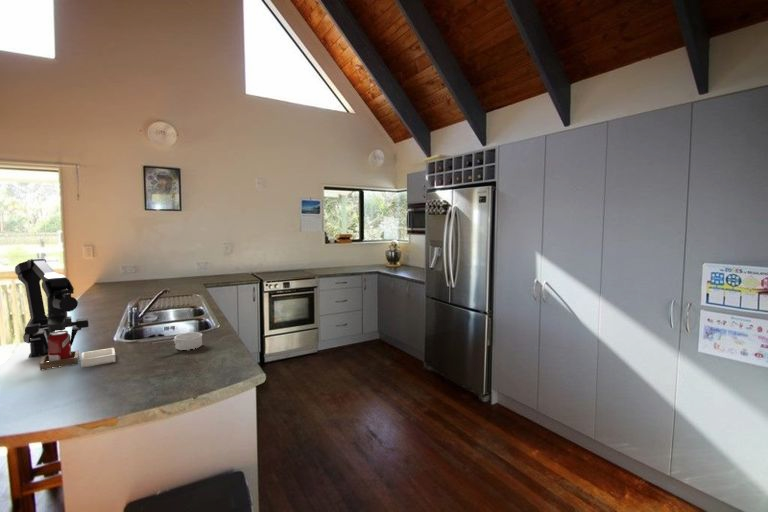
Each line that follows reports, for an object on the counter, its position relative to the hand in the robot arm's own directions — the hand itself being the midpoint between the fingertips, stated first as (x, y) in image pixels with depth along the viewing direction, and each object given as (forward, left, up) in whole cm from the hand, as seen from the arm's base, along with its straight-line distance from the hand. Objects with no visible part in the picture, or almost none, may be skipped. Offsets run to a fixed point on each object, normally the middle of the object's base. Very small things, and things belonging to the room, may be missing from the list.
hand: (59, 347), depth 146 cm
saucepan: (+10, +40, -7) cm, 42 cm away
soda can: (0, 0, -6) cm, 6 cm away
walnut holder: (0, 0, -6) cm, 6 cm away
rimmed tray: (+6, +12, -6) cm, 15 cm away
